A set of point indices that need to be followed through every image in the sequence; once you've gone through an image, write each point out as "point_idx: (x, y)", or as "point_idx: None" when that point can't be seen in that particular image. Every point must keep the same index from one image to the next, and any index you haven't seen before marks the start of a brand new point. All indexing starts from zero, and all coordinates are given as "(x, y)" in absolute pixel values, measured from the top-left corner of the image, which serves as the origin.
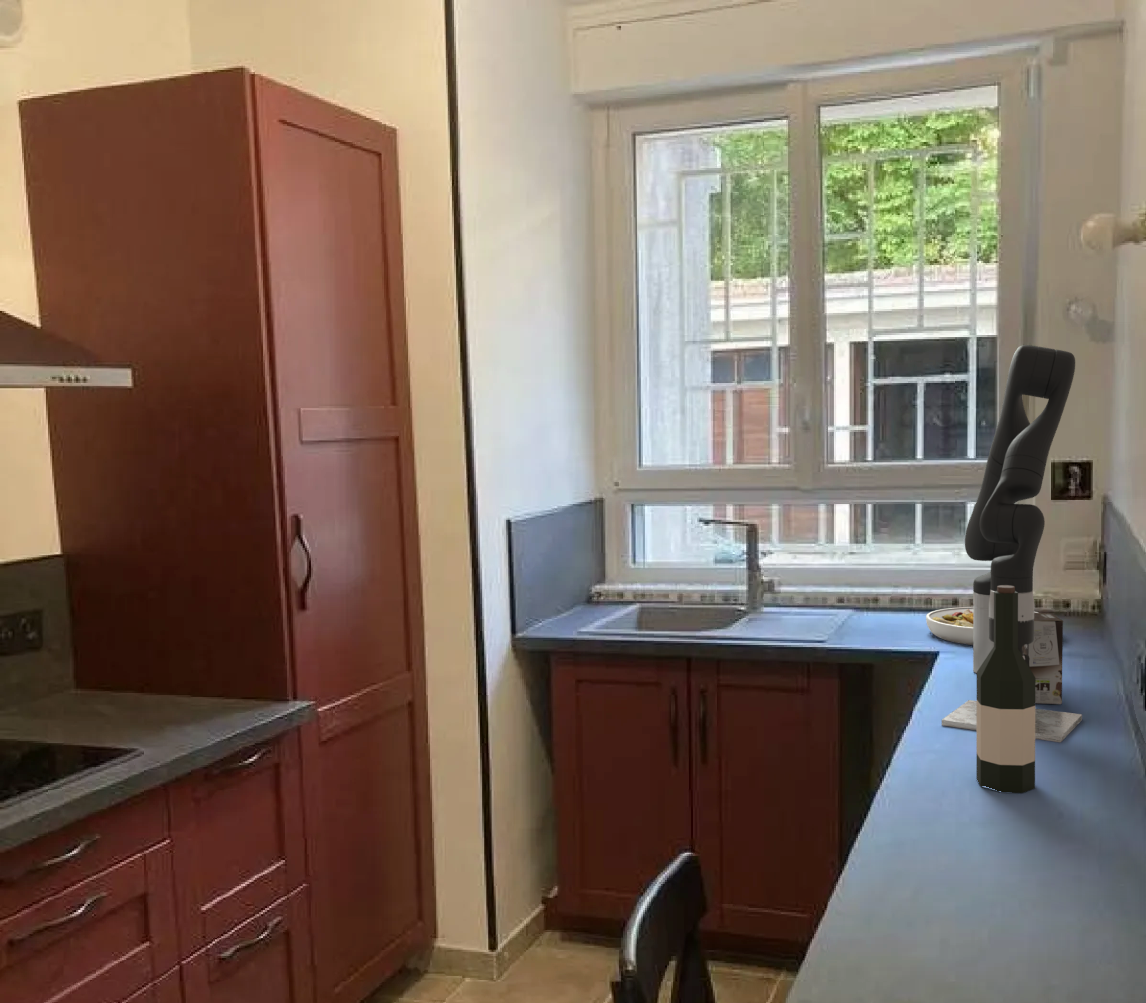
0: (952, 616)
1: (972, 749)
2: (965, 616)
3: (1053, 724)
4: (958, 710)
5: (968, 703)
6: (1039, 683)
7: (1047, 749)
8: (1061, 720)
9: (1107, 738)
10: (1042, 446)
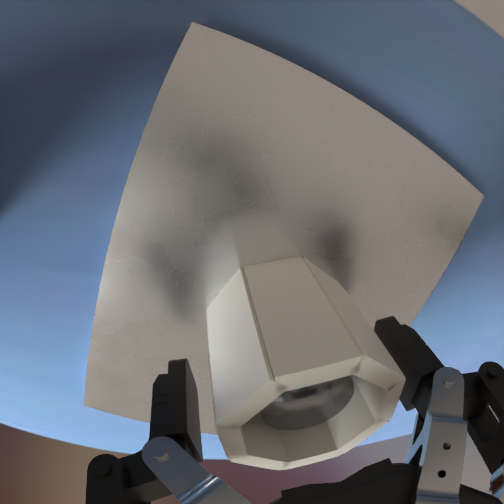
0: None
1: (461, 362)
2: None
3: (376, 185)
4: (215, 429)
5: (124, 411)
6: None
7: (499, 234)
8: (316, 137)
9: (435, 31)
10: None
